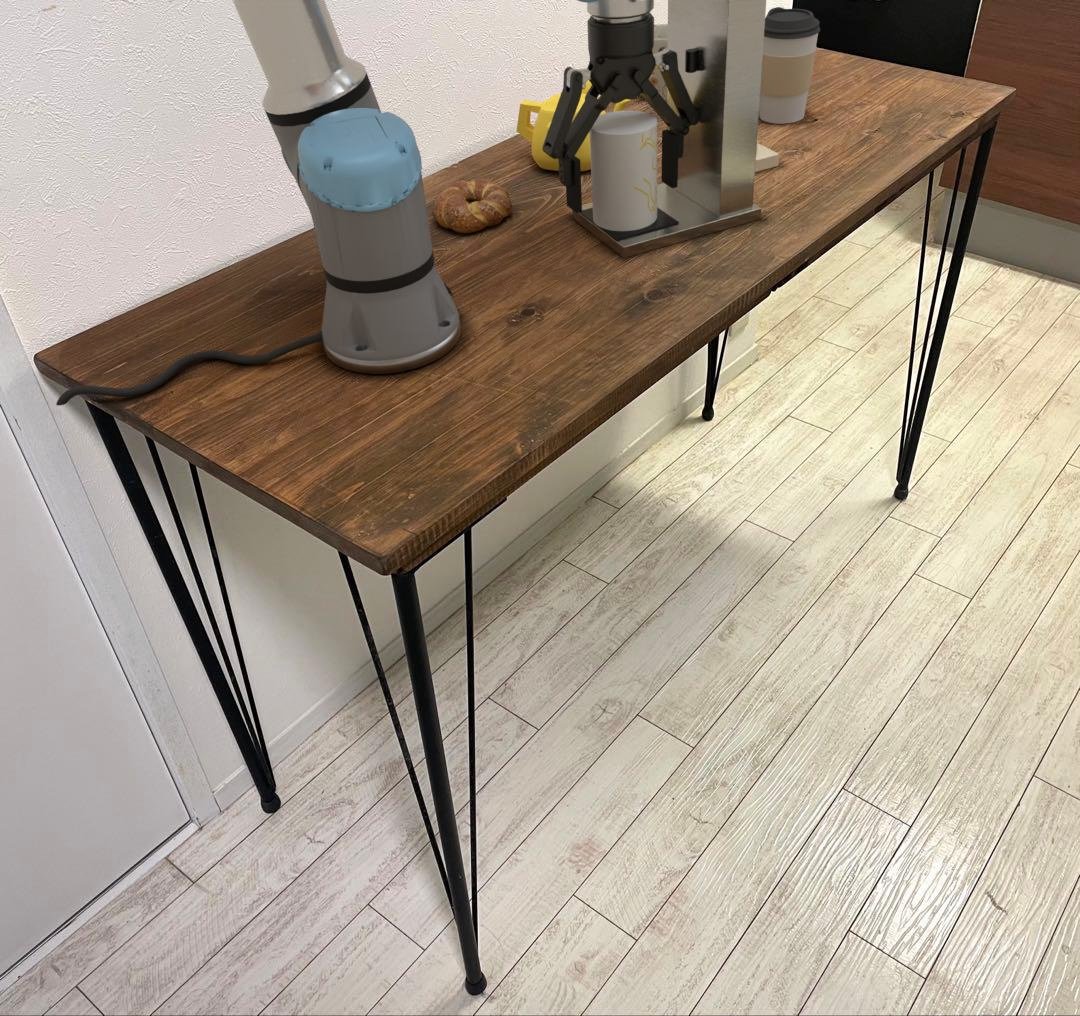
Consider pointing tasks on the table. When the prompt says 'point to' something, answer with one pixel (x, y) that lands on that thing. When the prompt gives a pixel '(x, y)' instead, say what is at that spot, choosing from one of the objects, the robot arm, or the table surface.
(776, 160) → the cream triangular wedge
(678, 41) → the coffee machine
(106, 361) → the table surface
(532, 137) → the teapot
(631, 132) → the cup
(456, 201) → the pretzel
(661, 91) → the mug
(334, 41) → the robot arm
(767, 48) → the coffee cup
